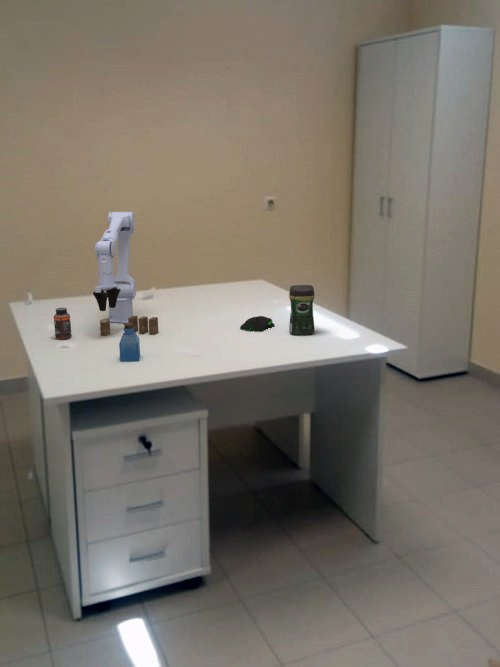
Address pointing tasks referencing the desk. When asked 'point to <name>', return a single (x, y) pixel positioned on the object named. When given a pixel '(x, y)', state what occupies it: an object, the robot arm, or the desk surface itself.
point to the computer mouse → (257, 324)
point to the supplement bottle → (62, 324)
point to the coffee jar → (301, 310)
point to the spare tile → (105, 326)
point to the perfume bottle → (129, 344)
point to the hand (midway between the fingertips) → (107, 309)
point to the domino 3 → (153, 325)
